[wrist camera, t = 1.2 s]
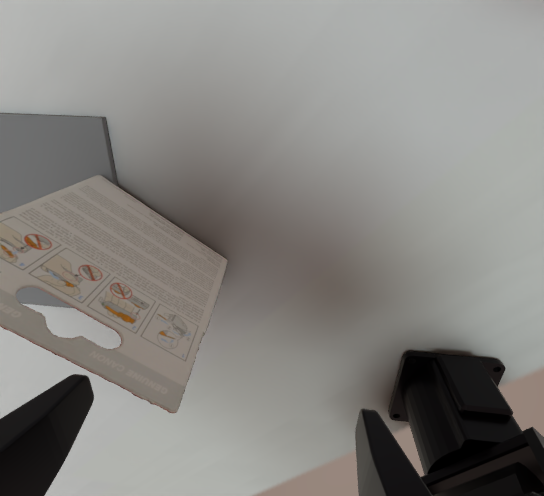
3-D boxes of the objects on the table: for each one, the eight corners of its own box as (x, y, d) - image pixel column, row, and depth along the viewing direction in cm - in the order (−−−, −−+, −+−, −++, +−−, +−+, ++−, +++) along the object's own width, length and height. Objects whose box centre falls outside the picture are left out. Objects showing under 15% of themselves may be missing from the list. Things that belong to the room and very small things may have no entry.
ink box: (212, 285, 22) (144, 459, 12) (83, 204, 20) (-142, 329, 9) (235, 255, 21) (184, 418, 10) (102, 166, 19) (-127, 260, 8)
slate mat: (140, 310, 24) (137, 313, 23) (12, 299, 24) (7, 302, 24) (105, 117, 18) (101, 117, 18) (-61, 110, 19) (-68, 111, 18)
